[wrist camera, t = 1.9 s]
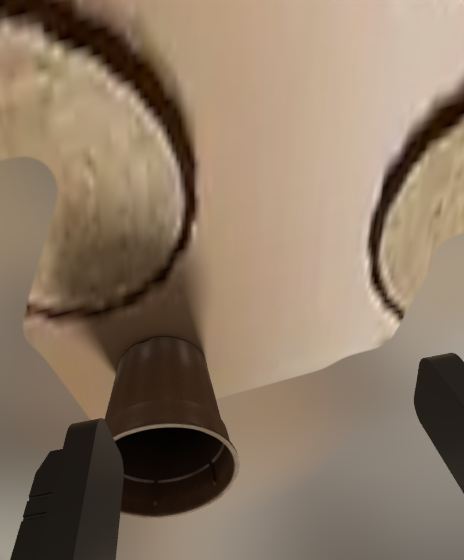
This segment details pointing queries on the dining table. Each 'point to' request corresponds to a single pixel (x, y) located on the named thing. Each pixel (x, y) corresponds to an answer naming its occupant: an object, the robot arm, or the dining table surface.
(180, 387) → the plant pot
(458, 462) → the robot arm
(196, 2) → the dining table surface
